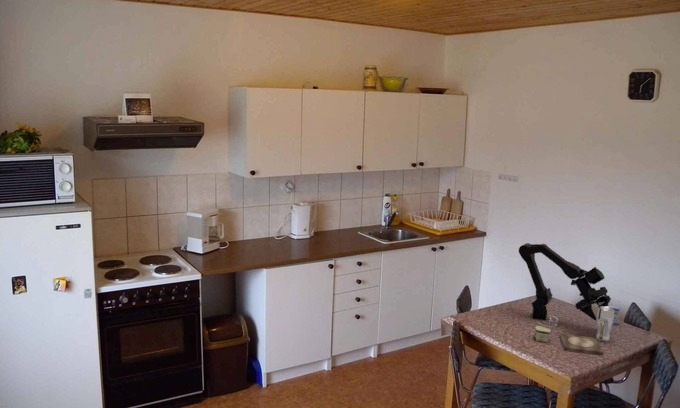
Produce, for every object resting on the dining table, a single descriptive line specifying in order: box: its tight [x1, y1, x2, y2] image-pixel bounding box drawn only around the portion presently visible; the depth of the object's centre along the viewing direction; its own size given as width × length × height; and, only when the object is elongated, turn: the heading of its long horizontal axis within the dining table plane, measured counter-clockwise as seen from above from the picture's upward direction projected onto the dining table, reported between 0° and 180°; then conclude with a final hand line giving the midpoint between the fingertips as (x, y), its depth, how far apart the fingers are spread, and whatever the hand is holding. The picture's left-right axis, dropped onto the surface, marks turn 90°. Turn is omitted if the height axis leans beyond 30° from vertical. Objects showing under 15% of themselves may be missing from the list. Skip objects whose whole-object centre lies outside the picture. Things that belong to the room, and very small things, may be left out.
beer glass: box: [595, 306, 614, 342], centre depth 267 cm, size 7×7×15 cm
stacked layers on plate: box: [534, 325, 552, 343], centre depth 264 cm, size 10×9×6 cm
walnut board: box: [559, 333, 604, 356], centre depth 259 cm, size 16×16×2 cm
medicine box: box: [608, 304, 621, 326], centre depth 289 cm, size 8×4×9 cm, turn 62°
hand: (602, 318), depth 268 cm, fingers open, 9 cm apart
